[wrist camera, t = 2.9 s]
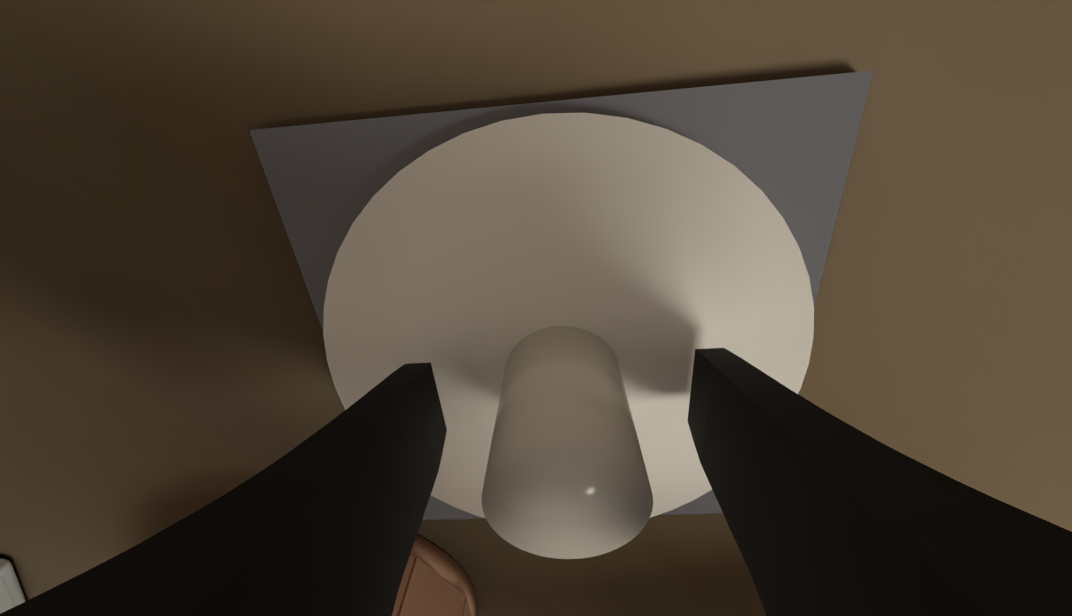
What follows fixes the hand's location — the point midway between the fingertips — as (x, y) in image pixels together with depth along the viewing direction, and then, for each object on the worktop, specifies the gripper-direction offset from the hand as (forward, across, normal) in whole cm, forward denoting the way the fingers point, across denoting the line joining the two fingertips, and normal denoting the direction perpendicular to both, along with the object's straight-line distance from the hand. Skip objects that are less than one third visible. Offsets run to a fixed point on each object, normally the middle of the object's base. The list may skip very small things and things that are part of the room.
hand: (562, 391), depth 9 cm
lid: (+1, 0, 0) cm, 1 cm away
